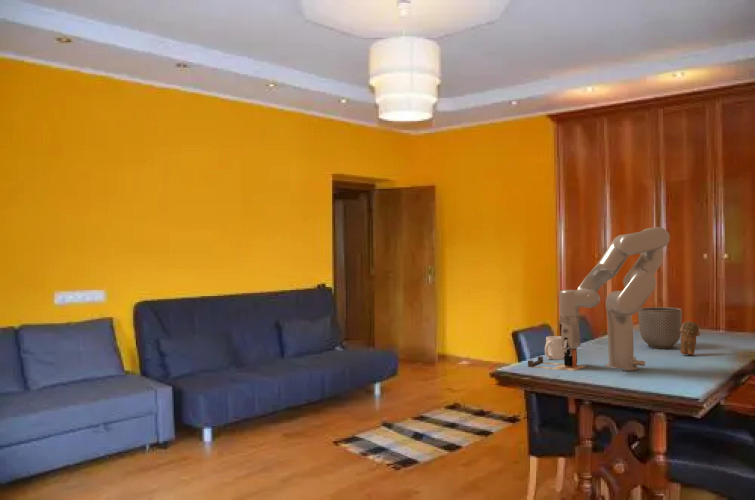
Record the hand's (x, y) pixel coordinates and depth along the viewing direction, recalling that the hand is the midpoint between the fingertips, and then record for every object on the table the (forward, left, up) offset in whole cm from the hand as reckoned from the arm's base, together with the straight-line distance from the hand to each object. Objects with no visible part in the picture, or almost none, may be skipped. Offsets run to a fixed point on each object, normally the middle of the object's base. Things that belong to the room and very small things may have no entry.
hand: (570, 364), depth 251 cm
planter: (-19, -76, -2) cm, 78 cm away
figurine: (-35, -58, -2) cm, 68 cm away
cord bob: (0, 0, -1) cm, 1 cm away
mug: (+13, -16, -2) cm, 21 cm away
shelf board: (+5, +2, -2) cm, 6 cm away
